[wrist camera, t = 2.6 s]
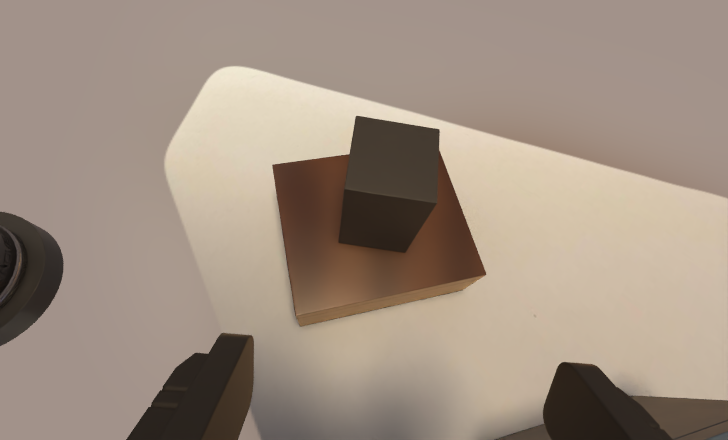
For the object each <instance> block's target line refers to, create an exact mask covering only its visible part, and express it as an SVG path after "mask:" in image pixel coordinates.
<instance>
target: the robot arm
mask: <svg viewBox="0 0 728 440" xmlns="http://www.w3.org/2000/svg"><path fill="white" fill-rule="evenodd" d="M26 268H27V252H26V248H25V246H24V244H23V242H22V240H21V239H20V238H19V237H18V236H17V235H16V234H15V233H14V232H12V231H11V230H9V229H7V228H5V227H3V226H1V225H0V309H2V308H3V307H4V306H5V305H6V304H7V303H8V301H9V300H10V299H11V298H12V297H13V295H14V294H15V293H16V291H17V290H18V288H19V286H20V284H21V283H22V280H23V278H24V275H25V272H26ZM253 381H254V340H253V336H252V335H240V334H228V333H222V334H221V335H220V336H219V337H218V339H217V340H216V342H215V344H214V345H213V347H212V349H211V351H210V352H209V354H203V353H195V354H193V355H192V356H191V357H189V358H188V359H187V360H185V361H184V362H183V363H181V364H180V365H179V366H178V367H176V368H175V370H174V371H173V373H172V374H171V376H170V377H169V379H168V380H167V381H166V383H165V384H164V386H163V389H162V391H160V392H159V393H158V394H157V396H156V397H155V399H154V400H153V402H152V405H151V407H148V409H147V410H146V412H145V413H144V415H143V416H142V418H141V419H140V421H139V422H138V424H137V425H136V427H135V428H134V429H133V431H132V432H131V434H130V435H129V437H128V438H127V439H126V440H238V437H239V435H240V432H241V429H242V426H243V423H244V421H245V418H246V415H247V413H248V410H249V406H250V402H251V398H252V392H253ZM543 419H544V424H545V428H546V430H547V433H548V435H549V436H550V438H551V440H673V439H672V438H671V437H670V436H669V435H668V434H667V433H666V431H665V430H664V429H660V425H659V424H658V423H657V422H656V421H655V420H654V418H653V417H652V416H651V415H650V414H649V413H648V412H647V411H646V410H645V409H644V408H643V406H642V405H641V404H639V403H638V402H637V401H635V400H634V399H633V398H631V397H630V396H628V395H627V394H626V393H624V392H623V391H622V390H620V389H619V388H617V387H616V386H615V385H614V384H613V383H612V382H611V381H610V380H609V379H608V377H607V376H606V375H605V374H604V373H603V372H602V371H601V370H600V369H599V368H598V367H597V366H595V365H592V364H582V363H570V362H563V363H561V364H560V365H559V366H558V368H557V370H556V373H555V376H554V379H553V382H552V384H551V387H550V390H549V393H548V396H547V399H546V401H545V404H544V408H543Z"/></svg>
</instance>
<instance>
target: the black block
mask: <svg viewBox="0 0 728 440" xmlns="http://www.w3.org/2000/svg"><path fill="white" fill-rule="evenodd" d="M438 162H439V129H433V128H427V127H421V126H415V125H409V124H403V123H397V122H391V121H385V120H379V119H373V118H367V117H361V116H356V119H355V125H354V131H353V137H352V143H351V149H350V155H349V162H348V168H347V174H346V180H345V186H344V194H343V204H342V213H341V222H340V232H339V241H338V242H339V243H343V244H349V245H356V246H363V247H370V248H377V249H383V250H390V251H397V252H404V253H406V251H407V249H408V248H409V246H410V245H411V243H412V242H413V240H414V239H415V237H416V235H417V234H418V232H419V231H420V229H421V228H422V226H423V225H424V223H425V221H426V220H427V218H428V217H429V215H430V214H431V212H432V211H433V209H434V207H435V206H436V204H437V194H438Z"/></svg>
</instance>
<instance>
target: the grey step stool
mask: <svg viewBox="0 0 728 440" xmlns="http://www.w3.org/2000/svg"><path fill="white" fill-rule="evenodd" d="M631 398H633V399H634V400H635V401H637V402H638V403H639V404H641V405H642V406H643V408H644V409H645V410H646V411H647V412H648V413H649V414H650V415H651V416H652V417H653V418H654V420H655V421H656V422H657V423H658V424H659V425H660V429H664V430H665V431H666V433H667V434H668V435H669V436H670V437H671V438H672V439H673V440H728V401H725V400H706V399H687V398H668V397H648V396H631ZM496 440H551V438H550V436H549V435H548V433H547V430H546V428H545V424H543V425H540V426H537V427H534V428H530V429H527V430H524V431H521V432H518V433H515V434H512V435H508V436H505V437H502V438H499V439H496Z"/></svg>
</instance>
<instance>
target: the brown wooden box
mask: <svg viewBox="0 0 728 440" xmlns="http://www.w3.org/2000/svg"><path fill="white" fill-rule="evenodd" d="M349 155H350V154H349ZM349 155H341V156H334V157H326V158H319V159H312V160H304V161H297V162H289V163H282V164H275V165H272V166H273V173H274V179H275V186H276V192H277V199H278V205H279V212H280V218H281V225H282V231H283V238H284V244H285V251H286V258H287V264H288V271H289V277H290V284H291V290H292V297H293V303H294V310H295V316H296V318H297V320H298V322H299V325H300V326H305V325H309V324H314V323H318V322H323V321H327V320H332V319H336V318H341V317H345V316H349V315H354V314H358V313H363V312H367V311H372V310H376V309H381V308H385V307H390V306H394V305H399V304H403V303H408V302H412V301H417V300H421V299H425V298H430V297H434V296H439V295H443V294H448V293H452V292H457V291H461V290H463V289H465V288H466V287H468V286H469V285H471V284H473V283H474V282H476V281H477V280H479V279H480V278H482V277H483V276H485V275H486V272H485V269H484V267H483V264H482V262H481V259H480V256H479V254H478V251H477V248H476V246H475V243H474V240H473V238H472V235H471V233H470V230H469V227H468V225H467V222H466V219H465V217H464V214H463V211H462V209H461V206H460V204H459V201H458V198H457V196H456V193H455V190H454V188H453V185H452V183H451V180H450V177H449V175H448V172H447V169H446V167H445V164H444V161H443V159H442V156H441V154H440V151H439V162H438V194H437V204H436V206H435V207H434V209H433V211H432V212H431V214H430V215H429V217H428V218H427V220H426V221H425V223H424V225H423V226H422V228H421V229H420V231H419V232H418V234H417V235H416V237H415V239H414V240H413V242H412V243H411V245H410V246H409V248H408V249H407V251H406V253H404V252H397V251H390V250H383V249H377V248H370V247H363V246H356V245H349V244H343V243H339V242H338V241H339V232H340V222H341V213H342V204H343V194H344V186H345V180H346V174H347V168H348V162H349Z"/></svg>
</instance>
